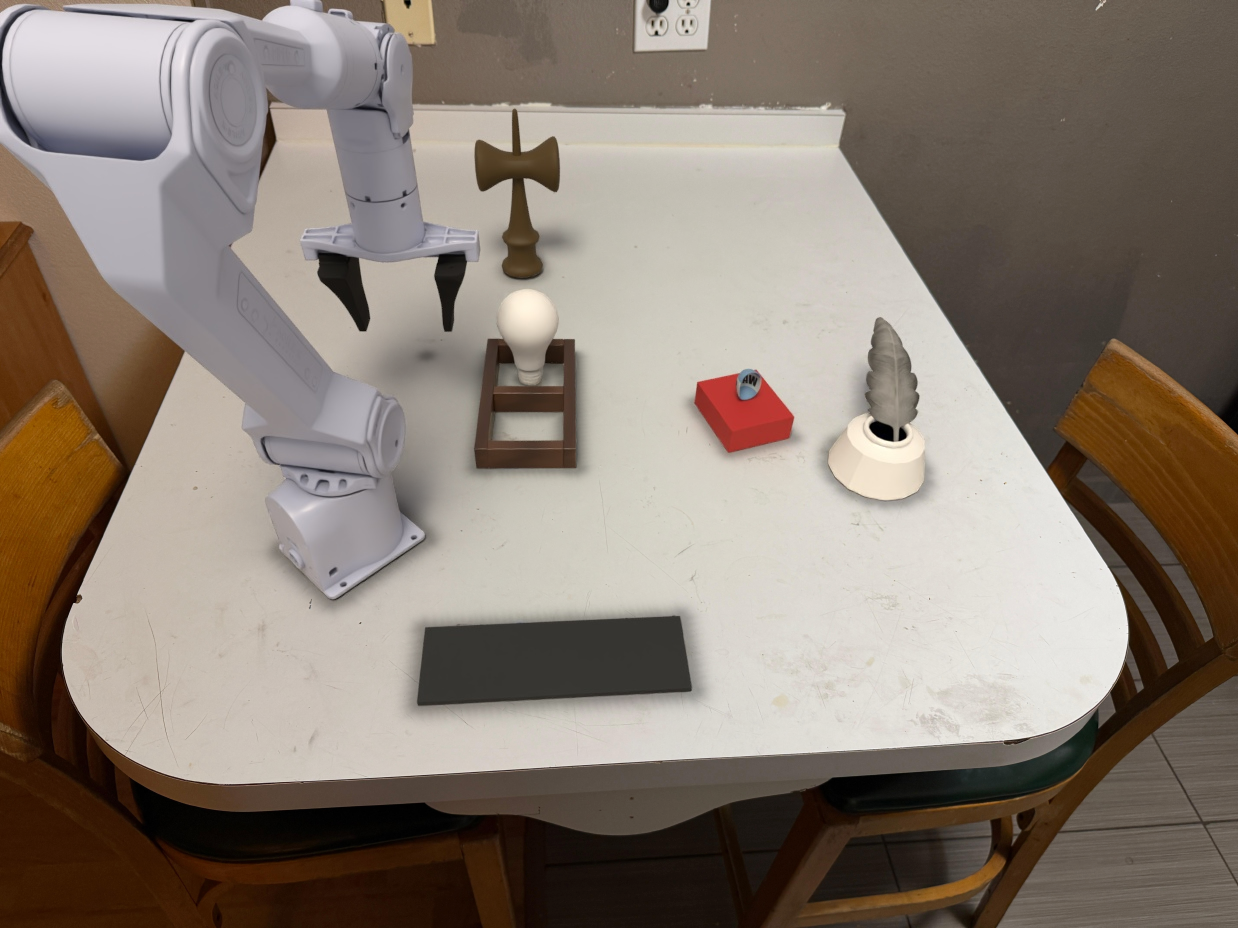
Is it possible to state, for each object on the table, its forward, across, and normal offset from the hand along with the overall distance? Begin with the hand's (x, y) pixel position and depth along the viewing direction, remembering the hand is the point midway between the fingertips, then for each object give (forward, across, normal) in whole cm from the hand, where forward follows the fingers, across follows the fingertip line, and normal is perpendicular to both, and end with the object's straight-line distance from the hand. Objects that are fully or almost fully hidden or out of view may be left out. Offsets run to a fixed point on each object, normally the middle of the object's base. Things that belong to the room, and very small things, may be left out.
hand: (407, 325), depth 75 cm
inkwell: (+11, -45, +4) cm, 46 cm away
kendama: (+12, -9, -28) cm, 31 cm away
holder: (+11, -11, -1) cm, 15 cm away
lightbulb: (+11, -11, -5) cm, 16 cm away
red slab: (+11, -32, +1) cm, 34 cm away
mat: (+10, -14, +29) cm, 34 cm away
